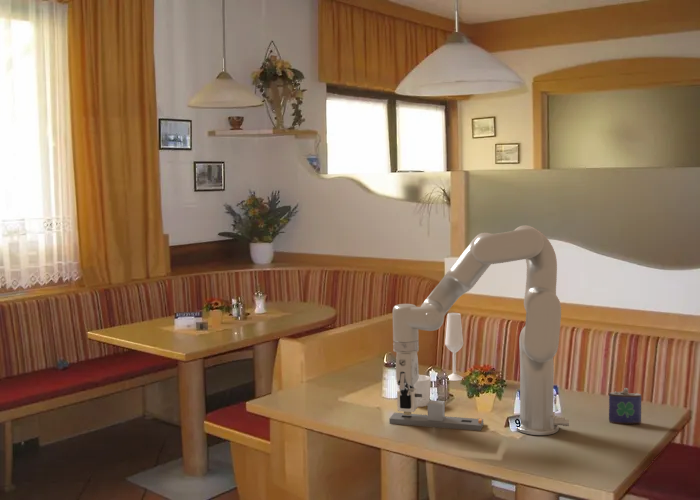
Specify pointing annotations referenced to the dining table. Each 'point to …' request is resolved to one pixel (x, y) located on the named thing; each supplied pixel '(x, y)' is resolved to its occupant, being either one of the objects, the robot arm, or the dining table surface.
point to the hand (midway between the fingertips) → (407, 405)
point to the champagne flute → (454, 340)
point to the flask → (625, 407)
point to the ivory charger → (413, 401)
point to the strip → (446, 423)
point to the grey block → (436, 410)
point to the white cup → (423, 390)
